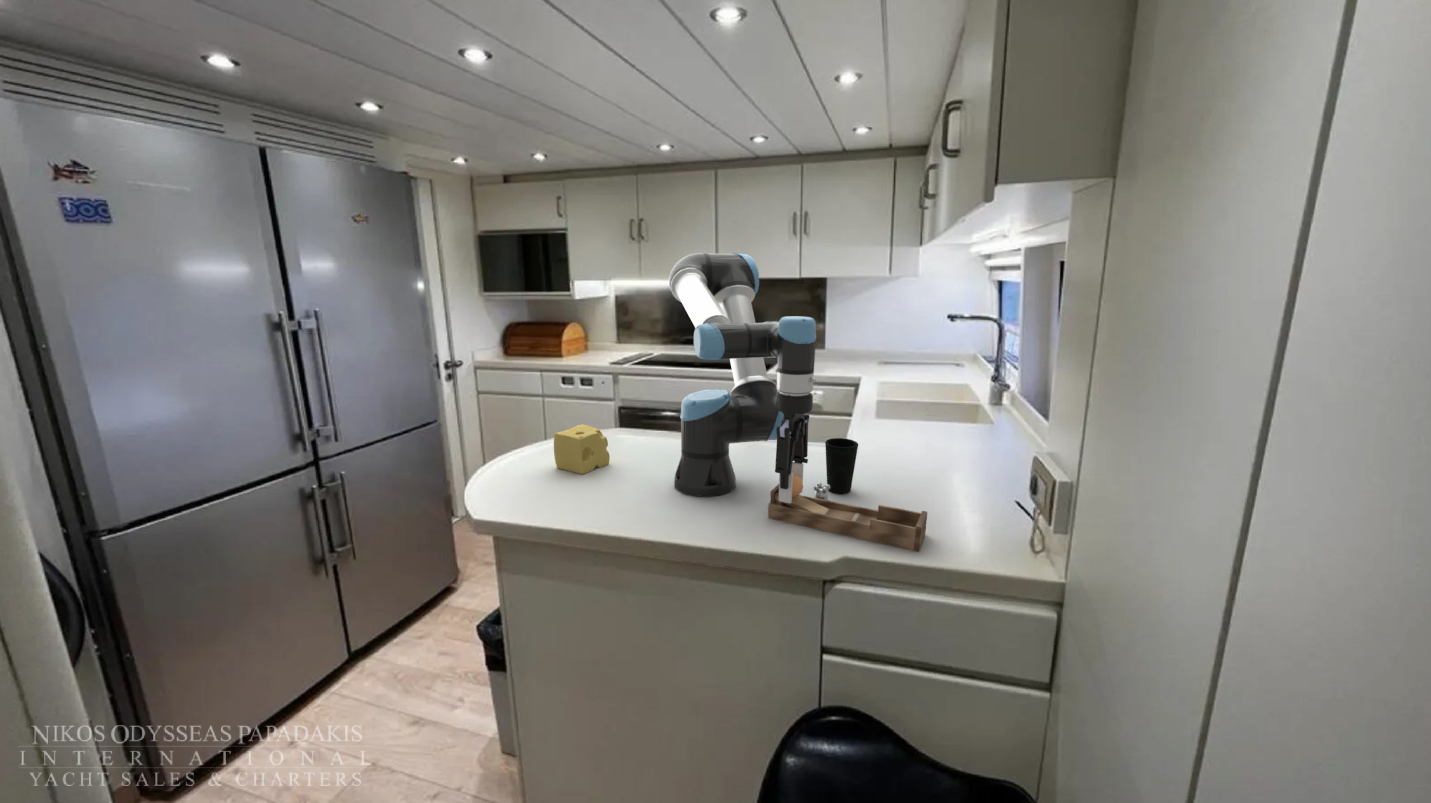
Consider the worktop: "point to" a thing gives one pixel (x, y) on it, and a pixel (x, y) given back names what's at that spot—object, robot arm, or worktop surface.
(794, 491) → the ball
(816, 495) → the silver knobbed handle
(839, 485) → the cup
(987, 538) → the worktop surface
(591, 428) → the cheese
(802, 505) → the lane
